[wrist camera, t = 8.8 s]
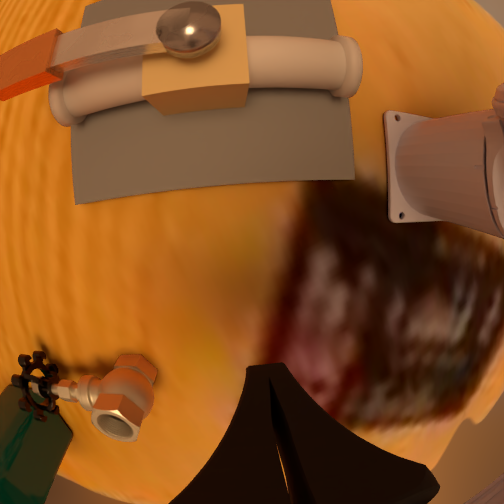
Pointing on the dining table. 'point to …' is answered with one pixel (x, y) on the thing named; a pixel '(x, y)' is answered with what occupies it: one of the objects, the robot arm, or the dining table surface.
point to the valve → (93, 393)
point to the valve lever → (109, 45)
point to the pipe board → (222, 134)
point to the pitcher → (28, 450)
